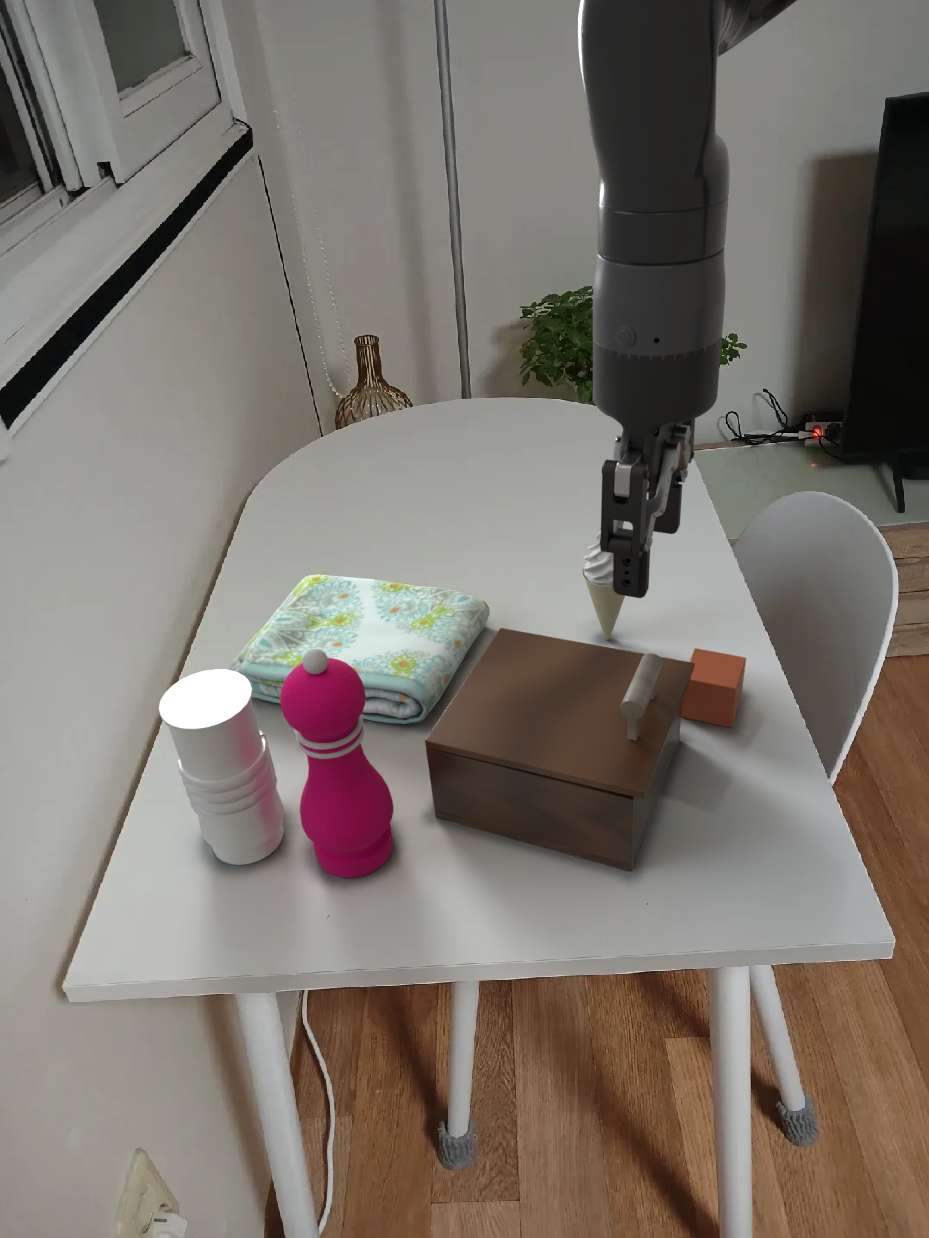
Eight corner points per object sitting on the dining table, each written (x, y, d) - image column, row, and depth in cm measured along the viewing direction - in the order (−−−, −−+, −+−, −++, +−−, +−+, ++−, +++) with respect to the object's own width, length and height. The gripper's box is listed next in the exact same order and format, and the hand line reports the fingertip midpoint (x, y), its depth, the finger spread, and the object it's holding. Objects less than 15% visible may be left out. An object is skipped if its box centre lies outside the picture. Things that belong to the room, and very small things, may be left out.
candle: (306, 833, 78) (271, 694, 70) (235, 883, 75) (188, 743, 66) (260, 792, 83) (221, 656, 74) (190, 838, 79) (141, 700, 70)
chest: (679, 739, 84) (684, 670, 79) (630, 871, 73) (633, 800, 68) (505, 700, 90) (500, 634, 86) (434, 816, 79) (425, 747, 74)
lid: (694, 669, 79) (697, 623, 76) (644, 799, 68) (645, 751, 65) (500, 633, 86) (496, 590, 83) (425, 747, 74) (418, 701, 72)
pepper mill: (411, 821, 79) (380, 625, 67) (381, 891, 73) (342, 691, 61) (330, 807, 81) (287, 615, 69) (295, 874, 75) (241, 678, 63)
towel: (313, 597, 107) (306, 558, 104) (493, 623, 100) (490, 583, 97) (229, 699, 93) (217, 658, 90) (430, 738, 87) (425, 695, 84)
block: (741, 696, 88) (746, 657, 85) (731, 728, 85) (736, 688, 82) (691, 686, 90) (694, 647, 87) (680, 717, 86) (683, 677, 84)
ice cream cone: (620, 659, 94) (623, 527, 85) (573, 645, 96) (572, 515, 87) (640, 631, 97) (645, 502, 88) (595, 619, 100) (595, 491, 91)
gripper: (693, 378, 50) (677, 628, 59) (744, 293, 60) (724, 518, 69) (556, 366, 52) (561, 607, 62) (628, 287, 63) (623, 504, 72)
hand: (647, 560), depth 66 cm, fingers open, 8 cm apart
